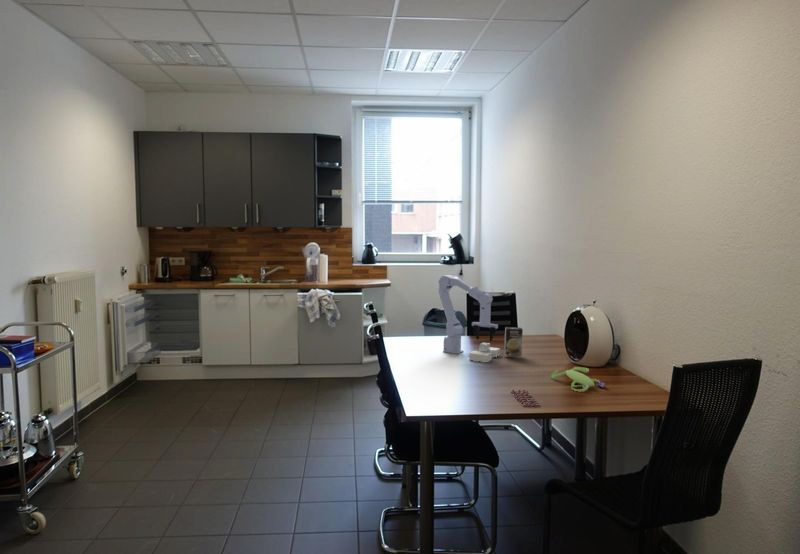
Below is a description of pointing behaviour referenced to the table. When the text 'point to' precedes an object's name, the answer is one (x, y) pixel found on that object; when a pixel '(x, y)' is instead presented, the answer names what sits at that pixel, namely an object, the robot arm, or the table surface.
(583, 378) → the figurine
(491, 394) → the table surface
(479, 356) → the white block pair
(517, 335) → the coffee box
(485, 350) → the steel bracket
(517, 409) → the table surface
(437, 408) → the table surface
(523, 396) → the chocolate bar
